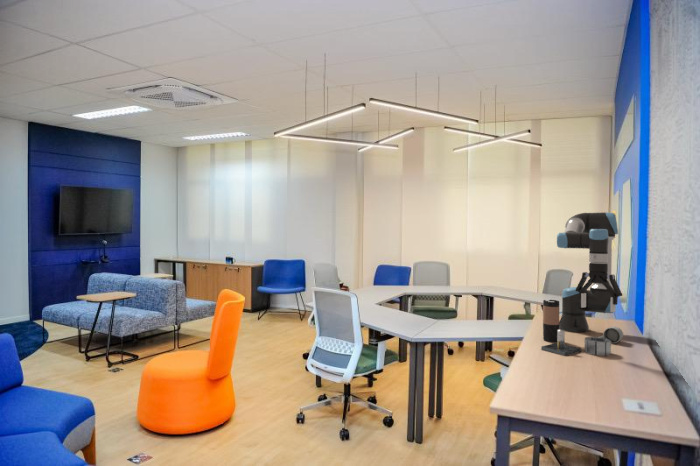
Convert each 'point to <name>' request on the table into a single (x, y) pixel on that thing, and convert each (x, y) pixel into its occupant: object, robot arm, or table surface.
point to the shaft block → (561, 346)
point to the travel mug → (550, 320)
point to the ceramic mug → (613, 334)
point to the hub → (597, 346)
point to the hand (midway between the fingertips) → (597, 309)
